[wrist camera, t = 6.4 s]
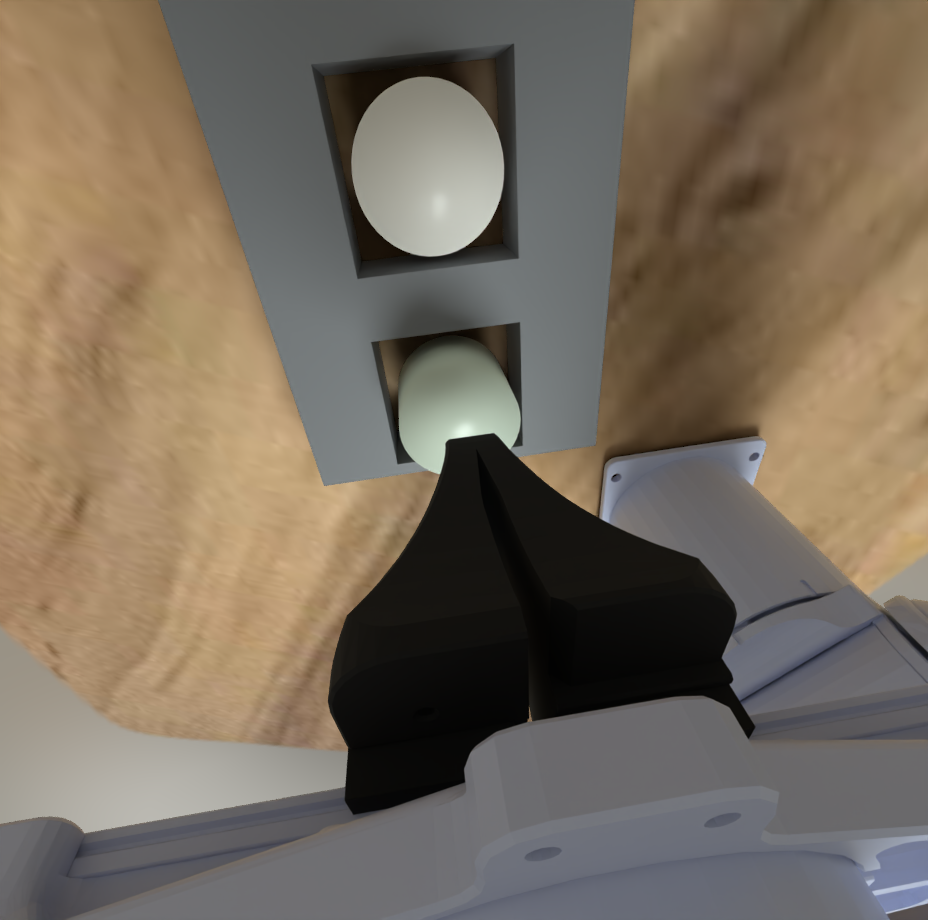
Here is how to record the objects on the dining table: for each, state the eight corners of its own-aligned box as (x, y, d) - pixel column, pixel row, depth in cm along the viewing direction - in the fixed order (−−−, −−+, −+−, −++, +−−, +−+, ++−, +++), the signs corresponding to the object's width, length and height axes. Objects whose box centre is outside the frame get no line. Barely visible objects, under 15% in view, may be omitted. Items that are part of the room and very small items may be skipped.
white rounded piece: (489, 230, 16) (507, 247, 13) (373, 245, 16) (369, 264, 13) (481, 81, 14) (501, 68, 11) (344, 95, 13) (333, 85, 11)
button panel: (575, 415, 21) (595, 445, 19) (331, 451, 20) (324, 486, 18) (624, -449, 9) (688, -614, 7) (58, -421, 9) (-45, -592, 7)
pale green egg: (505, 424, 19) (521, 467, 16) (407, 438, 19) (409, 483, 16) (500, 328, 17) (519, 361, 14) (389, 343, 16) (388, 379, 14)
